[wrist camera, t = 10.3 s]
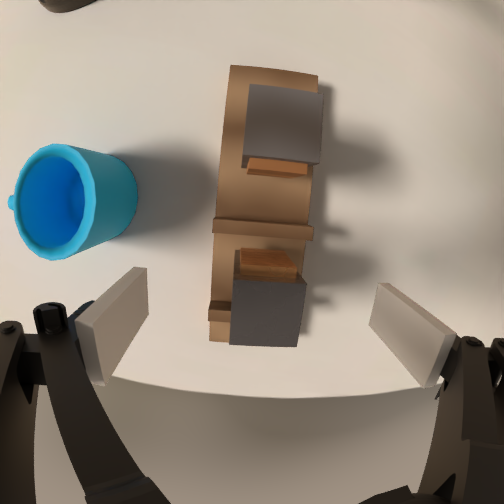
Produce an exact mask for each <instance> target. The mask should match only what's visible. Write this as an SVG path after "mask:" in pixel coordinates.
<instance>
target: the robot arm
mask: <svg viewBox="0 0 504 504" xmlns="http://www.w3.org/2000/svg"><path fill="white" fill-rule="evenodd" d="M93 1H95V0H39V2H40V3H41V4H42V5H43V6H44V7H45V8H46V9H47V10H49V11H51V12H54V13H62V12H67V11H71V10H74V9H77V8H80V7H82V6H84V5H87V4H89V3H91V2H93ZM148 314H149V312H148V290H147V268H140V267H133V268H132V269H131V270H130V271H129V272H127V273H126V274H125V275H124V276H123V277H122V278H121V279H119V280H118V281H117V282H116V283H115V284H114V285H113V286H111V287H110V288H109V289H108V290H107V291H106V292H105V293H104V294H102V295H101V296H100V297H99V298H98V299H97V300H96V301H93V300H92V301H89V302H87V303H85V304H83V305H82V306H81V307H79V308H78V310H76V311H75V312H74V313H73V314H71V315H70V316H69V317H68V318H67V314H66V307H65V306H64V305H63V304H61V303H56V302H49V303H44V304H41V305H39V306H37V307H36V308H34V310H33V315H34V320H35V324H36V329H37V333H38V334H24V331H23V327H22V325H21V323H19V322H17V321H5V322H2V323H1V324H0V504H36V496H35V483H34V482H35V481H34V431H35V417H36V406H37V397H38V389H39V385H47V388H48V392H49V396H50V400H51V404H52V407H53V411H54V414H55V418H56V421H57V424H58V427H59V430H60V433H61V436H62V439H63V442H64V445H65V447H66V450H67V453H68V455H69V458H70V460H71V463H72V465H73V468H74V470H75V472H76V474H77V477H78V479H79V481H80V483H81V485H82V488H83V490H84V492H85V495H86V496H85V500H86V502H87V504H171V503H170V502H169V501H168V500H167V498H166V497H165V496H164V495H163V493H162V492H161V491H160V490H159V488H158V487H157V486H156V485H155V483H154V482H153V481H152V480H151V479H150V478H149V477H145V475H144V474H143V473H142V472H141V470H140V469H139V468H138V466H137V464H136V463H135V462H134V460H133V458H132V457H131V455H130V454H129V452H128V451H127V449H126V448H125V446H124V444H123V443H122V441H121V439H120V438H119V436H118V434H117V432H116V431H115V429H114V427H113V425H112V424H111V422H110V420H109V418H108V416H107V414H106V412H105V411H104V409H103V407H102V405H101V403H100V401H99V399H98V397H97V395H96V393H95V391H94V388H93V386H92V384H91V383H94V384H98V385H102V386H106V384H107V382H108V381H109V379H110V377H111V375H112V374H113V372H114V370H115V369H116V367H117V365H118V363H119V362H120V360H121V358H122V357H123V355H124V353H125V352H126V350H127V348H128V347H129V345H130V343H131V342H132V340H133V339H134V337H135V335H136V334H137V332H138V330H139V329H140V327H141V326H142V324H143V322H144V321H145V319H146V318H147V316H148ZM369 326H370V327H371V328H372V329H373V330H374V332H375V333H376V334H377V335H378V336H379V337H380V338H381V340H382V341H383V342H384V343H385V344H386V345H387V347H388V348H389V349H390V350H391V351H392V352H393V354H394V355H395V356H396V357H397V358H398V359H399V361H400V362H401V363H402V364H403V365H404V366H405V368H406V369H407V370H408V371H409V372H410V374H411V375H412V376H413V377H414V378H415V380H416V381H417V382H418V383H419V384H420V386H421V387H422V388H429V387H433V386H435V385H436V383H437V381H438V379H439V376H440V375H441V376H442V377H443V378H444V381H443V383H442V385H441V387H440V389H439V391H438V393H437V395H436V397H435V399H437V398H438V397H439V396H440V398H439V405H438V411H437V417H436V423H435V428H434V433H433V438H432V443H431V447H430V451H429V455H428V459H427V463H426V466H425V470H424V474H423V477H422V480H421V483H420V487H419V490H418V492H417V493H411V491H410V490H409V488H408V486H407V485H406V486H403V487H400V488H397V489H394V490H391V491H388V492H385V493H381V494H377V495H375V496H373V497H371V498H369V499H367V500H365V501H363V502H361V503H359V504H504V338H495V339H494V340H493V342H492V345H491V347H485V346H484V344H483V343H482V341H480V340H478V339H477V338H475V337H470V336H464V337H462V338H460V337H459V336H458V335H457V333H456V332H454V331H453V330H452V329H450V328H449V327H448V326H447V325H445V324H444V323H443V322H441V321H440V320H439V319H437V318H436V317H435V316H433V315H432V314H431V313H429V312H428V311H427V310H425V309H424V308H423V307H421V306H420V305H418V304H417V303H416V302H414V301H413V300H412V299H410V298H409V297H407V296H406V295H405V294H403V293H402V292H401V291H399V290H398V289H396V288H395V287H393V286H392V285H391V284H389V283H378V288H377V292H376V297H375V301H374V305H373V309H372V313H371V317H370V321H369ZM501 375H502V377H501ZM500 377H501V381H500V383H499V385H497V382H498V380H499V379H500Z"/></svg>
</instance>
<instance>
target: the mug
mask: <svg viewBox="0 0 504 504" xmlns="http://www.w3.org/2000/svg"><path fill="white" fill-rule="evenodd" d="M137 201H138V193H137V184H136V181H135V179H134V176H133V174H132V171H131V170H130V169H129V168H128V167H127V166H126V164H125V163H124V162H123V161H121V160H119V159H117V158H116V157H114V156H111V155H107V154H103V153H99V152H95V151H91V150H87V149H83V148H78V147H74V146H70V145H64V144H51V145H48V146H45V147H43V148H40V149H39V150H38V151H37V152H35V153H34V154H33V155H32V156H31V157H30V158H29V159H28V160H27V162H26V163H25V165H24V167H23V168H22V170H21V171H20V174H19V177H18V180H17V183H16V186H15V192H14V195H11V196H10V197H9V199H8V207H9V208H10V209H11V210H14V216H15V222H16V225H17V228H18V231H19V234H20V236H21V238H22V239H23V241H24V242H25V244H26V245H27V247H28V248H29V249H30V250H31V251H33V252H34V253H35V254H36V255H38V256H39V257H42V258H45V259H48V260H51V261H52V260H61V259H65V258H68V257H70V256H72V255H75V254H77V253H79V252H81V251H84V250H86V249H89V248H91V247H93V246H96V245H98V244H100V243H103V242H105V241H108V240H110V239H112V238H114V237H116V236H118V235H120V234H121V233H122V232H123V231H124V230H125V229H126V228H127V227H128V226H129V224H130V222H131V220H132V218H133V216H134V214H135V212H136V206H137Z"/></svg>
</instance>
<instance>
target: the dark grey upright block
mask: <svg viewBox="0 0 504 504" xmlns="http://www.w3.org/2000/svg"><path fill="white" fill-rule="evenodd" d="M306 285H307V284H306V282H305V281H304V280H303V278H302V277H301V275H300V274H299V273H298V271H297V267H296V266H295V264H294V263H293V262H292V261H291V259H290V258H289V257H288V255H287V254H286V253H285V251H283V250H269V249H255V248H240V250H235V254H234V269H233V284H232V299H231V317H230V337H229V345H245V346H270V347H297V343H298V337H299V331H300V325H301V318H302V312H303V305H304V299H305V292H306Z"/></svg>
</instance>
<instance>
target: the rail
mask: <svg viewBox="0 0 504 504" xmlns="http://www.w3.org/2000/svg"><path fill="white" fill-rule="evenodd" d="M322 116H323V94H321V93H318V76H317V75H311V74H306V73H300V72H293V71H287V70H279V69H271V68H262V67H252V66H239V65H231V66H230V74H229V82H228V90H227V98H226V107H225V116H224V125H223V135H222V145H221V155H220V166H219V178H218V190H217V202H216V216H215V218H214V219H213V230H212V233H214V246H213V263H212V283H211V301H210V305H209V309H208V321H210V335H209V341H215V342H228V343H229V337H230V317H231V299H232V284H233V269H234V254H235V250H240V248H255V249H269V250H283V251H285V253H286V254H287V255H288V257H289V258H290V259H291V261H292V262H293V263H294V264H295V266H296V267H297V271H298V273H299V274H300V275H301V274H302V267H303V259H304V251H305V242H306V240H309V241H312V239H313V230H314V227H312V226H310V225H308V215H309V205H310V195H311V184H312V173H313V165H316V164H319V163H320V149H321V134H322Z"/></svg>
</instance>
